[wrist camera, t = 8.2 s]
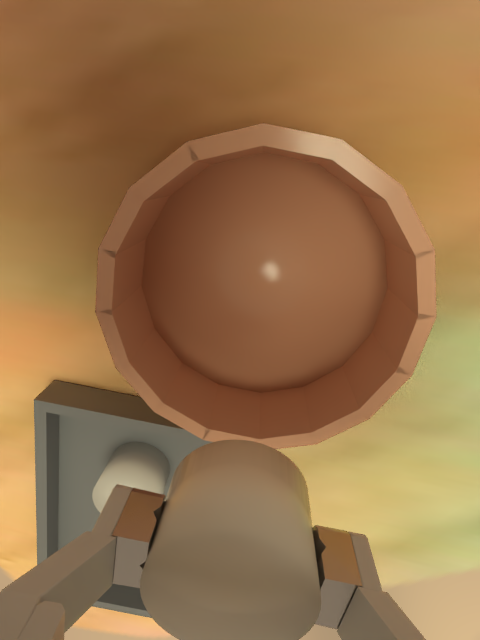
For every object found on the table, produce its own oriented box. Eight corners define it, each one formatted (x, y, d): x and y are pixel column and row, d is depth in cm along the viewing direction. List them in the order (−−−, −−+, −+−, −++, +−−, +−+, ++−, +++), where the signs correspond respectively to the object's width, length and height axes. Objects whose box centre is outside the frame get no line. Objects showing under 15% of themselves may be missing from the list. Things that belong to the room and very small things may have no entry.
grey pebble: (109, 482, 29) (91, 518, 26) (112, 436, 27) (93, 468, 24) (166, 494, 29) (154, 531, 26) (173, 448, 27) (162, 482, 24)
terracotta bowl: (125, 369, 26) (90, 417, 21) (147, 112, 20) (105, 90, 15) (350, 414, 26) (371, 473, 21) (438, 172, 20) (497, 171, 15)
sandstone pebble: (163, 530, 13) (132, 635, 10) (180, 426, 11) (148, 515, 8) (290, 556, 13) (295, 668, 10) (325, 456, 11) (344, 555, 8)
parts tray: (53, 566, 34) (38, 595, 31) (54, 380, 26) (34, 399, 24) (204, 596, 34) (199, 627, 32) (246, 418, 27) (244, 441, 24)
